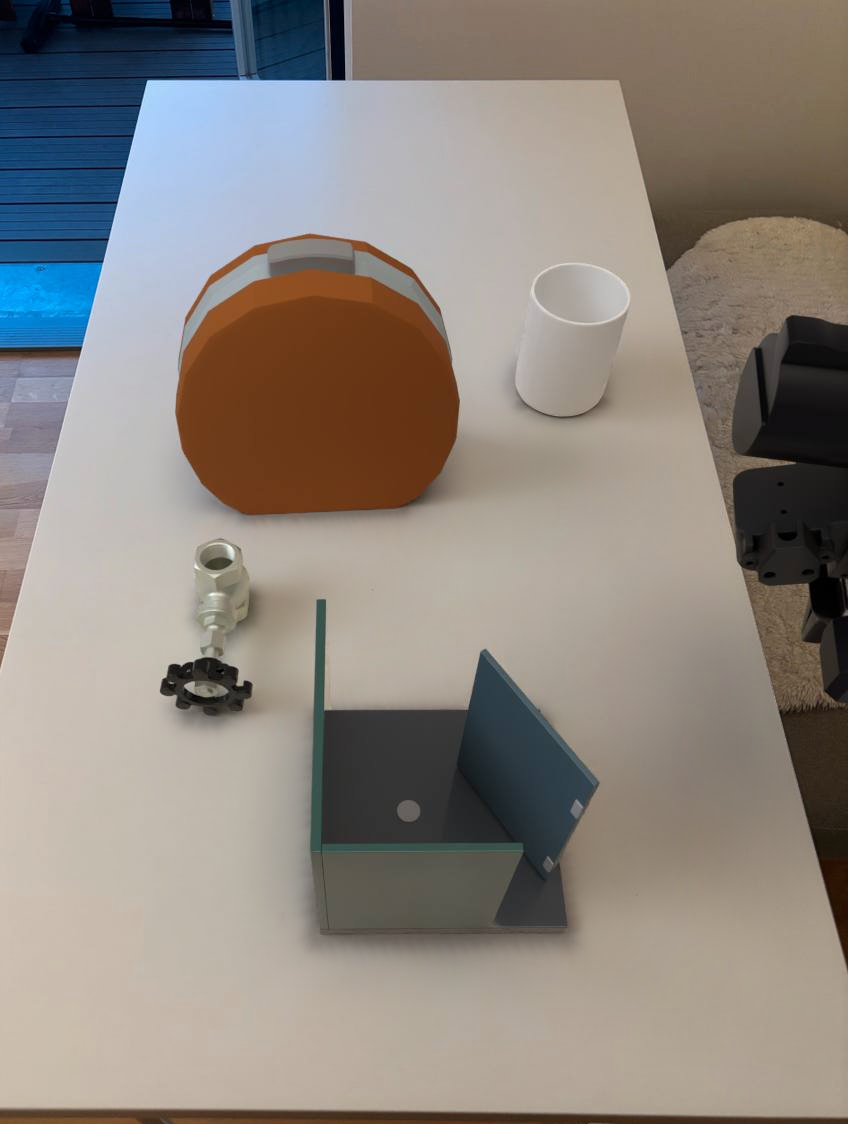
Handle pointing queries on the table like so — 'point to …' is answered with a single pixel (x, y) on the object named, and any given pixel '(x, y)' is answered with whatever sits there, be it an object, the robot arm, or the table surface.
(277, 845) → the table surface
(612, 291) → the mug
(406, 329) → the alarm clock
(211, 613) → the valve
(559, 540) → the table surface
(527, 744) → the shower door
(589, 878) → the table surface
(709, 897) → the table surface
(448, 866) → the shower stall
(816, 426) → the robot arm
